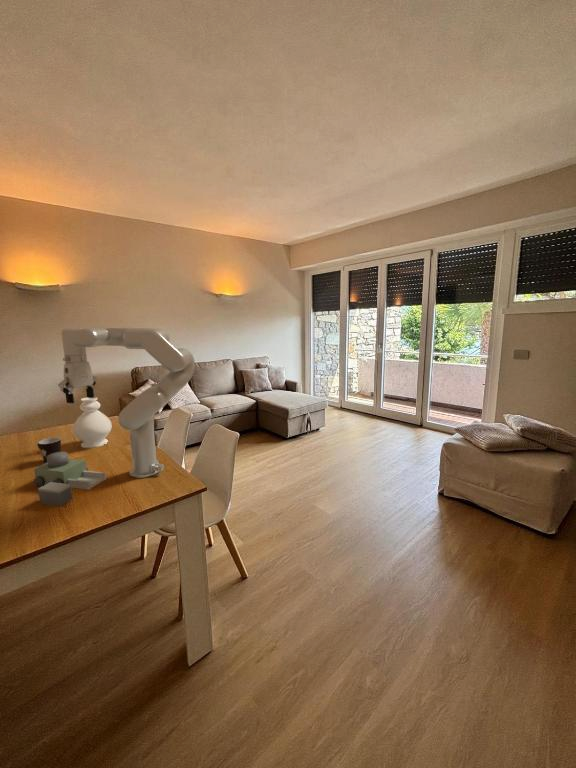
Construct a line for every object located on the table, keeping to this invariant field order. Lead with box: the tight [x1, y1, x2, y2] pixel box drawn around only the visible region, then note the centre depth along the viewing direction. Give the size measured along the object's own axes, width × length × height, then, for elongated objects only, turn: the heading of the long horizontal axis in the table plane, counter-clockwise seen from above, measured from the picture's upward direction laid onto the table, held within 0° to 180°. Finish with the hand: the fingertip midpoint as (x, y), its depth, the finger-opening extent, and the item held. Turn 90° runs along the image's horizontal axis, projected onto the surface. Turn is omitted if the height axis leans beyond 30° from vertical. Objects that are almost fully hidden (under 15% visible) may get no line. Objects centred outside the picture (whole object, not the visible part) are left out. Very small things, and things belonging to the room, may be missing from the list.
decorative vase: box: [72, 396, 113, 449], centre depth 174 cm, size 18×18×25 cm
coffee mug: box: [37, 436, 62, 464], centre depth 155 cm, size 12×9×10 cm
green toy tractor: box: [33, 451, 107, 491], centre depth 134 cm, size 24×13×11 cm, turn 78°
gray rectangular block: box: [37, 482, 74, 507], centre depth 120 cm, size 9×5×6 cm, turn 78°
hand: (80, 400), depth 136 cm, fingers open, 9 cm apart
